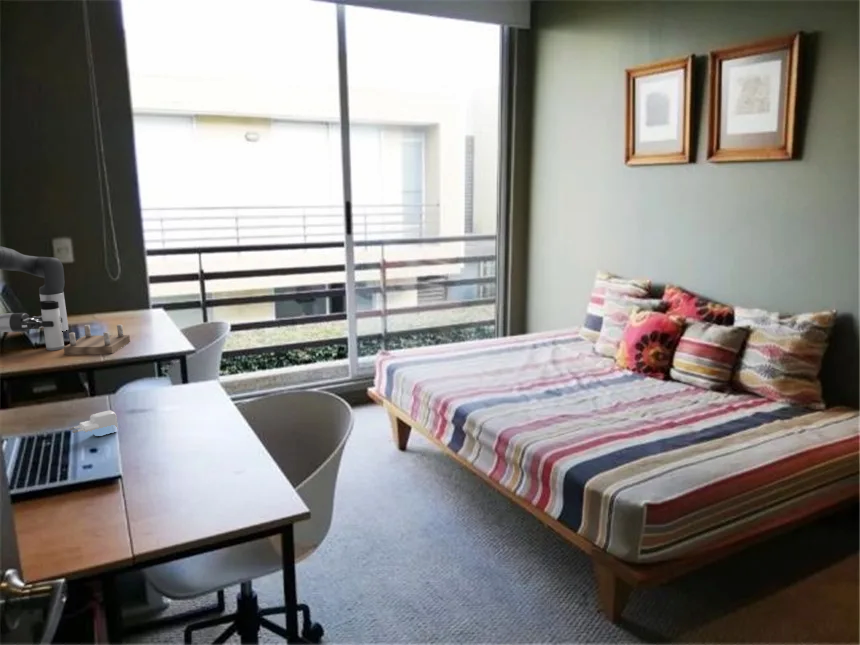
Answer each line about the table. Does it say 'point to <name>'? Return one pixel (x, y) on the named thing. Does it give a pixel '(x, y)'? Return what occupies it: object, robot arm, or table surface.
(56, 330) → the travel mug
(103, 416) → the power adapter
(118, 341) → the peg stand
